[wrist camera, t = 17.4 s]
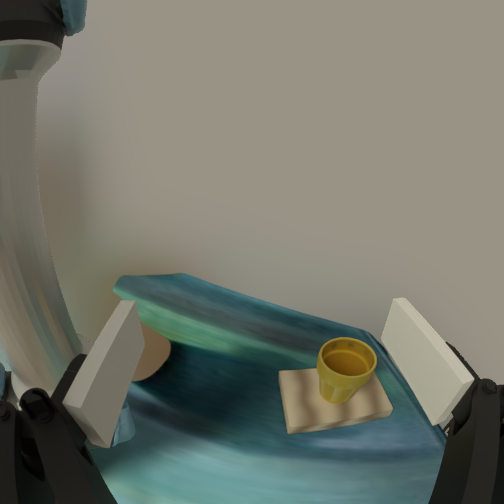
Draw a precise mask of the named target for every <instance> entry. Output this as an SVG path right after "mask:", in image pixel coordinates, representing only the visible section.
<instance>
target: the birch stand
mask: <svg viewBox="0 0 504 504" xmlns="http://www.w3.org/2000/svg"><path fill="white" fill-rule="evenodd" d="M278 380H279V386H280V392H281V397H282V403H283V409H284V415H285V421H286V427H287V433H288V434H294V433H304V432H312V431H319V430H326V429H332V428H338V427H344V426H349V425H354V424H359V423H363V422H368V421H372V420H376V419H380V418H384V417H388V416H389V415H390V414H391V412H392V410H393V407H392V405H391V403H390V401H389V399H388V397H387V395H386V393H385V391H384V389H383V387H382V385H381V383H380V381H379V380H378V378H377V376H376V374H375V372H373V374H372V376H371V378H370V379H369V381H368V382H367V383H366V384H365V385H363V386H361V387H360V388H359V389H358V390H357V391H356V392H355V394H354V395H353V396H352V397H351V398H350V399H349V400H348V401H346V402H344V403H341V404H334V403H330V402H328V401H326V400H325V399H324V398H323V397H322V396H321V394H320V391H319V375H318V372H317V369H316V368H314V369H301V370H285V371H279V377H278Z"/></svg>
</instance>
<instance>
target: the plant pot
mask: <svg viewBox="0 0 504 504" xmlns="http://www.w3.org/2000/svg"><path fill="white" fill-rule="evenodd" d="M376 364H377V357H376V354H375V352H374V351H373V349H372V348H371V347H370V346H369V345H367V344H366V343H364V342H362V341H360V340H357V339H354V338H348V337H340V338H335V339H332V340H329V341H328V342H326V343H325V344H324V345H323V346H322V347H321V349H320V351H319V355H318V359H317V364H316V369H317V372H318V375H319V391H320V394H321V396H322V397H323V398H324V399H325V400H326V401H328V402H330V403H334V404H341V403H344V402H346V401H348V400H349V399H350V398H351V397H352V396H353V395H354V394H355V392H356V391H357V390H358V389H359V388H360V387H361V386H363V385H365V384H366V383H367V382H368V381H369V379H370V378H371V376H372V374H373V372H374V370H375V367H376Z"/></svg>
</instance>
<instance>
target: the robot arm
mask: <svg viewBox="0 0 504 504" xmlns="http://www.w3.org/2000/svg"><path fill="white" fill-rule="evenodd" d="M86 7H87V0H0V352H1V354H2V356H3V357H4V359H5V360H6V362H7V363H8V365H9V366H10V368H11V369H12V371H8V372H7V371H5V368H4V366H3V365H2V364H1V363H0V504H118V503H117V502H116V500H115V498H114V497H113V495H112V494H111V492H110V490H109V489H108V487H107V485H106V483H105V482H104V480H103V478H102V476H101V474H100V473H99V471H98V469H97V467H96V465H95V463H94V461H93V459H92V457H91V455H90V453H89V451H88V450H93V449H98V448H103V447H105V448H110V447H114V446H116V445H117V444H119V443H122V442H125V441H129V440H131V439H132V438H133V437H134V435H135V424H134V421H133V417H132V414H131V411H130V407H129V405H128V403H127V398H126V395H127V392H128V389H129V386H130V383H131V381H132V378H133V375H134V372H135V370H136V367H137V364H138V361H139V359H140V356H141V354H142V351H143V349H144V346H145V342H144V338H143V334H142V329H141V325H140V321H139V316H138V311H137V307H136V302H135V301H129V300H121V302H120V303H119V305H118V306H117V308H116V309H115V311H114V312H113V314H112V316H111V317H110V319H109V320H108V322H107V324H106V325H105V327H104V328H103V330H102V332H101V333H100V335H99V337H98V338H97V340H96V342H95V343H94V344H93V343H92V342H91V341H90V340H88V339H87V338H86V337H84V336H82V335H80V334H78V333H76V331H75V329H74V326H73V324H72V321H71V318H70V316H69V313H68V310H67V307H66V304H65V302H64V298H63V295H62V292H61V289H60V286H59V282H58V279H57V275H56V272H55V268H54V264H53V261H52V256H51V252H50V248H49V243H48V239H47V234H46V229H45V223H44V218H43V212H42V205H41V198H40V190H39V181H38V171H37V154H36V107H37V91H38V83H39V81H40V79H41V78H42V76H43V75H44V74H45V73H46V72H47V71H48V70H49V69H50V68H51V67H52V66H53V65H54V64H55V63H56V62H57V61H58V60H59V57H60V55H61V49H62V43H63V38H64V36H65V35H66V36H73V34H75V33H78V32H80V31H82V30H83V28H84V26H85V16H86ZM381 340H382V342H383V344H384V345H385V347H386V348H387V350H388V351H389V353H390V355H391V356H392V358H393V359H394V361H395V363H396V364H397V366H398V367H399V369H400V371H401V372H402V374H403V376H404V377H405V379H406V380H407V382H408V384H409V385H410V387H411V389H412V390H413V392H414V394H415V396H416V397H417V399H418V401H419V402H420V404H421V406H422V408H423V409H424V411H425V413H426V415H427V416H428V418H429V420H430V422H431V424H432V425H433V426H434V425H436V424H438V423H441V422H443V421H445V420H446V418H447V417H448V416H449V414H450V413H452V414H453V416H454V417H453V418H452V419H451V420H450V422H449V423H448V424H447V425H446V426H445V428H444V429H443V431H442V432H445V431H446V429H447V428H448V427H449V431H448V432H447V433H448V437H447V442H446V446H445V451H444V455H443V459H442V463H441V466H440V470H439V474H438V477H437V480H436V483H435V486H434V489H433V492H432V495H431V498H430V501H429V503H428V504H504V385H496V383H495V382H493V381H492V380H490V379H480V378H479V377H478V375H477V374H476V373H475V372H474V370H473V369H472V368H471V367H470V366H469V364H468V363H467V362H466V361H464V358H463V357H462V356H461V355H460V353H459V352H458V351H457V350H456V349H455V347H453V346H452V345H450V344H449V343H447V342H444V341H443V340H442V338H441V337H440V336H439V335H438V334H437V333H436V332H435V330H434V329H433V328H432V327H431V326H430V325H429V324H428V322H427V321H426V320H425V319H424V318H423V317H422V316H421V315H420V314H419V312H417V310H416V309H415V308H414V307H413V306H412V305H411V304H410V303H409V302H408V301H407V300H406V299H405V298H394V299H393V302H392V306H391V309H390V312H389V315H388V318H387V322H386V325H385V328H384V330H383V333H382V336H381Z"/></svg>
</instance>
